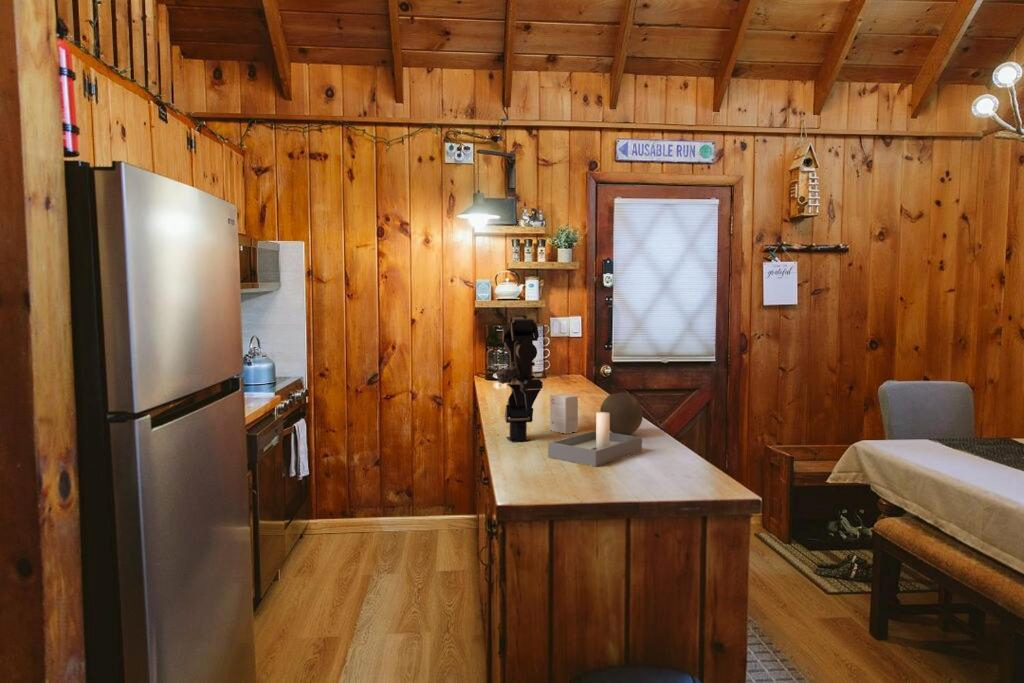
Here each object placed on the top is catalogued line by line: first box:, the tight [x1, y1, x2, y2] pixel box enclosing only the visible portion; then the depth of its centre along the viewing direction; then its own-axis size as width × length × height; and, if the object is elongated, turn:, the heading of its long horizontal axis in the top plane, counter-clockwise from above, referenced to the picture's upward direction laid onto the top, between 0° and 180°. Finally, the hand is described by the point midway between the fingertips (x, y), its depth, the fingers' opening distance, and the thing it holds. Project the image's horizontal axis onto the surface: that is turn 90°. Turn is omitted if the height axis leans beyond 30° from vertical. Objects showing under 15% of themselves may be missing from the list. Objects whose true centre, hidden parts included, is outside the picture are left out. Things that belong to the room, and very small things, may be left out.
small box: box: [549, 393, 579, 435], centre depth 233 cm, size 8×6×13 cm
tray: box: [547, 429, 643, 467], centre depth 199 cm, size 17×25×4 cm
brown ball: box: [599, 392, 644, 436], centre depth 226 cm, size 14×14×15 cm
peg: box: [595, 411, 611, 450], centre depth 197 cm, size 4×4×13 cm
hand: (523, 408), depth 205 cm, fingers open, 9 cm apart
